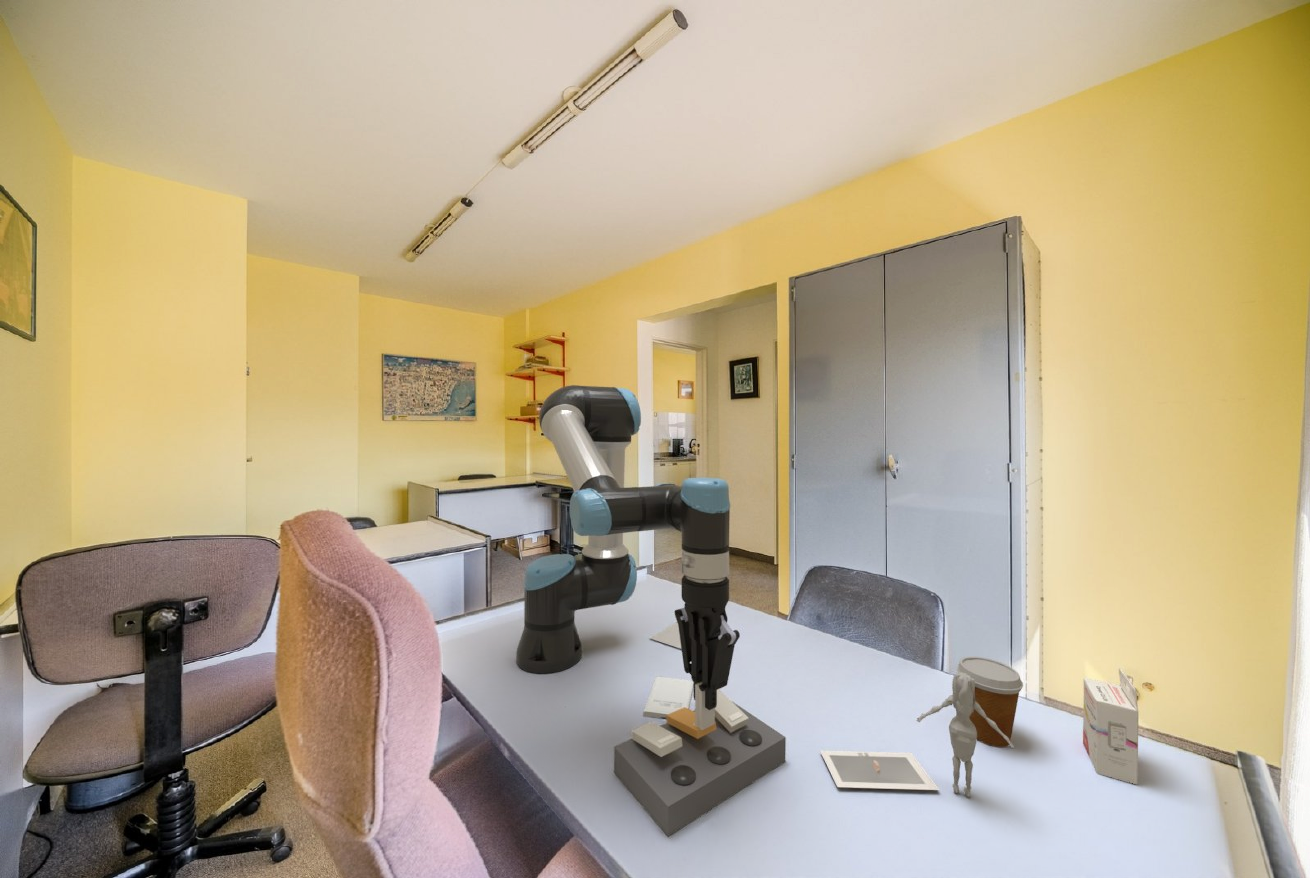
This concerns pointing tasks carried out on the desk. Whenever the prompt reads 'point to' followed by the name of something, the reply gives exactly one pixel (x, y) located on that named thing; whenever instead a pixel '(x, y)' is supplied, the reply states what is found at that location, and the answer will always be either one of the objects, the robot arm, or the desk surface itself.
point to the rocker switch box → (698, 770)
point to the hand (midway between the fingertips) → (704, 724)
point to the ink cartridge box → (1111, 728)
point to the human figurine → (963, 726)
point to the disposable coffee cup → (993, 697)
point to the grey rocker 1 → (656, 739)
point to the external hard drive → (668, 696)
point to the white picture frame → (877, 770)
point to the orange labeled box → (687, 722)
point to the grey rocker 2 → (729, 713)
